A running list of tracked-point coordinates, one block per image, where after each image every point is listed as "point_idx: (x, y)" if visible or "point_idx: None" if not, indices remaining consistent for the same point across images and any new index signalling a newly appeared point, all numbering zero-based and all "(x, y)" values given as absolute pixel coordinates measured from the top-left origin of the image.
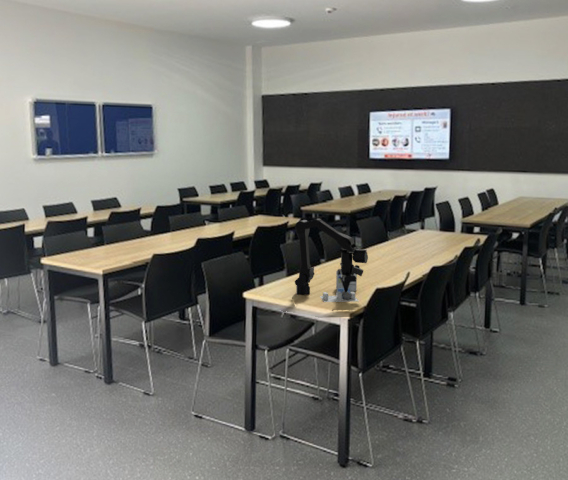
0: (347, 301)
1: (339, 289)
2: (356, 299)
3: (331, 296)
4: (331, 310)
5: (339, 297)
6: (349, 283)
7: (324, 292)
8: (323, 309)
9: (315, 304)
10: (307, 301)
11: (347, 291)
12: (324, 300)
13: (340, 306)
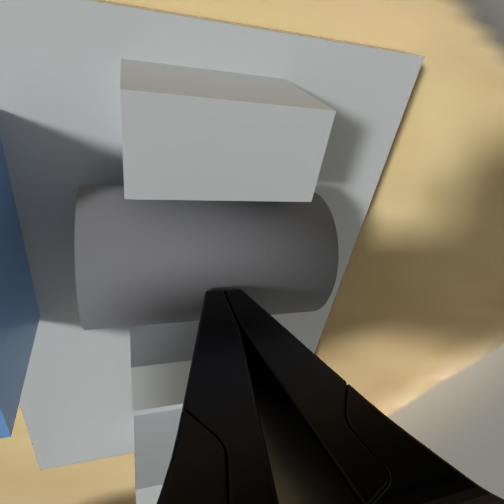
0: (357, 237)
1: (7, 398)
2: (308, 61)
3: (59, 380)
4: (458, 362)
5: None
6: (439, 465)
7: (152, 502)
8: (411, 400)
9: None
10: None
11: (143, 259)
12: None
13: (408, 302)
